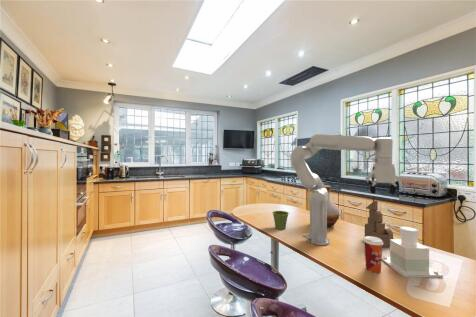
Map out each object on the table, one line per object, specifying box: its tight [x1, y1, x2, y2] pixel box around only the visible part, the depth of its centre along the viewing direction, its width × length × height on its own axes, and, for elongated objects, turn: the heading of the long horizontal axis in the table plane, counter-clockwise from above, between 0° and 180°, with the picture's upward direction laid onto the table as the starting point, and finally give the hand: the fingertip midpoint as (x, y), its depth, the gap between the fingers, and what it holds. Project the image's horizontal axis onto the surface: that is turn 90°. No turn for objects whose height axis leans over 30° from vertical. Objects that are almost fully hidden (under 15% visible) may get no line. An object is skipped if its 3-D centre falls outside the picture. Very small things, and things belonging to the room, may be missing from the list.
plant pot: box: [272, 210, 290, 231], centre depth 154 cm, size 12×12×11 cm
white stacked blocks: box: [381, 238, 444, 278], centre depth 98 cm, size 16×16×11 cm
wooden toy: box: [364, 200, 394, 248], centre depth 127 cm, size 15×7×25 cm, turn 16°
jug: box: [324, 184, 340, 228], centre depth 158 cm, size 20×18×30 cm
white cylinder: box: [399, 225, 419, 246], centre depth 98 cm, size 7×7×7 cm
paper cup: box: [363, 236, 383, 274], centre depth 96 cm, size 8×8×14 cm
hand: (382, 193), depth 112 cm, fingers open, 9 cm apart
